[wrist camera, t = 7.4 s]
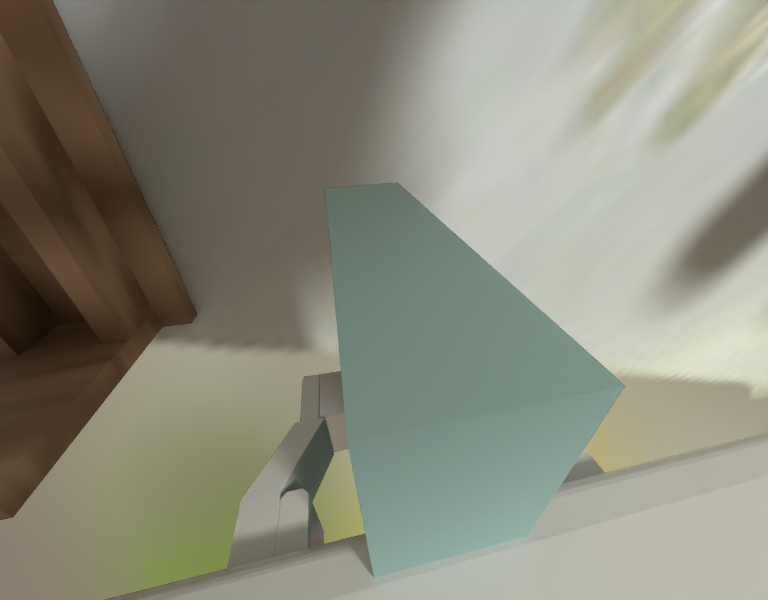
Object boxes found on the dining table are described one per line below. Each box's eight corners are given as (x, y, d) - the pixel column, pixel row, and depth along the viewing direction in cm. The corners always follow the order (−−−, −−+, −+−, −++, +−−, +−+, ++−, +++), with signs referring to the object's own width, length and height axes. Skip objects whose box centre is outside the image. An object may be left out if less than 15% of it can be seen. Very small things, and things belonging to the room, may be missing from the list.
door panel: (324, 188, 10) (347, 442, 2) (397, 182, 10) (626, 385, 3) (355, 397, 16) (388, 651, 8) (399, 389, 16) (468, 625, 9)
